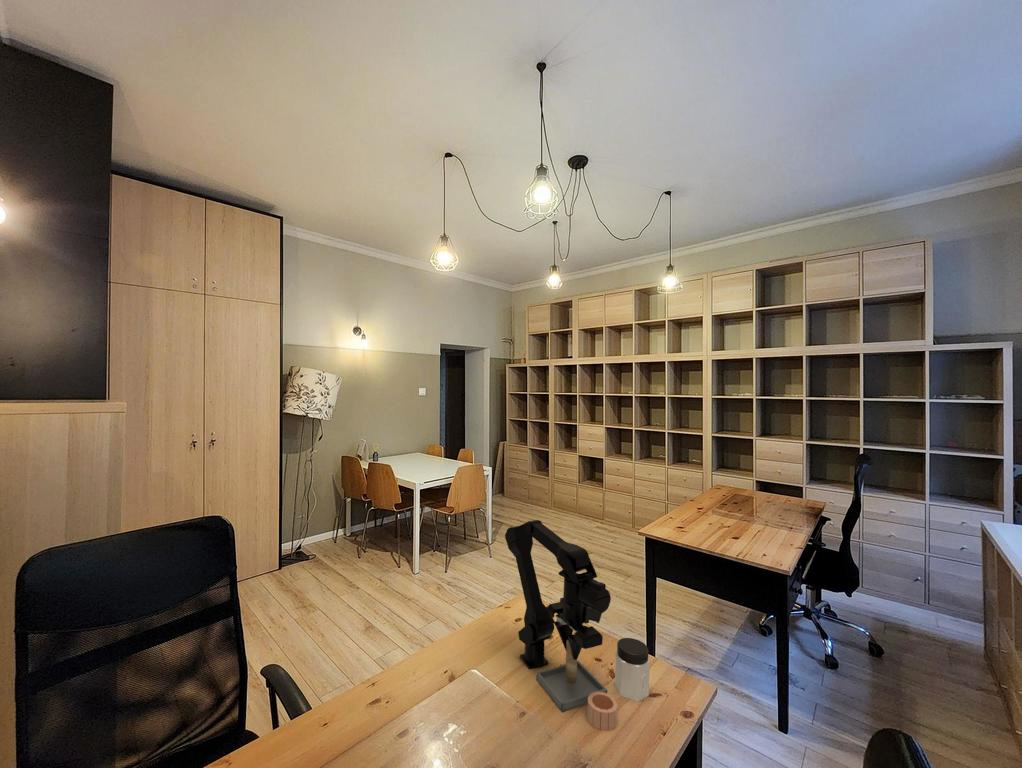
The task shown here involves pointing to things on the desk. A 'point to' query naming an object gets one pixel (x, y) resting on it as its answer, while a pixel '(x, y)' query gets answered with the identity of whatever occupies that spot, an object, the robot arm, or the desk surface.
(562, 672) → the tray
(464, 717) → the desk surface
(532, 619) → the robot arm
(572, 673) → the dowel
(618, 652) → the jar
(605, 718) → the cup
